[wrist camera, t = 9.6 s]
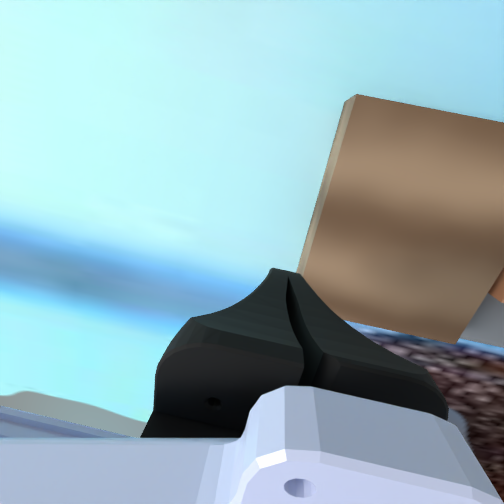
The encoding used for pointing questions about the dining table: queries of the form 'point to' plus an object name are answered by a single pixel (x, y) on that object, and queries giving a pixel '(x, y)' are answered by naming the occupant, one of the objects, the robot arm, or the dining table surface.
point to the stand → (408, 218)
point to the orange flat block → (498, 287)
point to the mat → (487, 323)
